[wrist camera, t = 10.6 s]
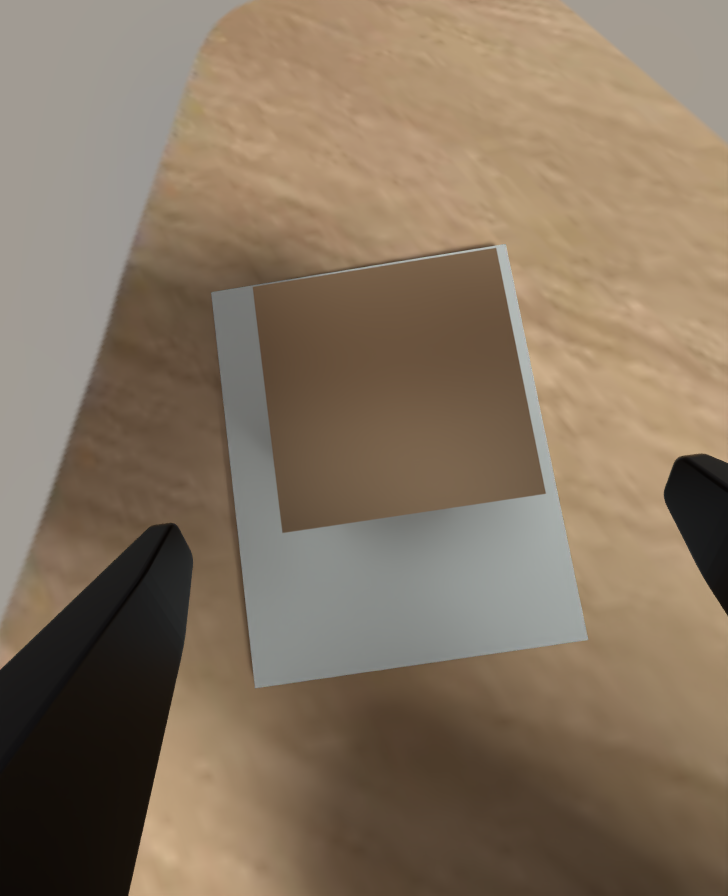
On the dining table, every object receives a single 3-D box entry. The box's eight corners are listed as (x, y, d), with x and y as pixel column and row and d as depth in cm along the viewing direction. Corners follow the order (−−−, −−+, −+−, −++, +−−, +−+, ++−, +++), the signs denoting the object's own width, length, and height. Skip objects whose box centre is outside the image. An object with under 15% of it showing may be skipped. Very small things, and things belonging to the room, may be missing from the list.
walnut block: (454, 503, 16) (546, 493, 7) (339, 520, 16) (282, 532, 7) (435, 390, 16) (496, 247, 8) (323, 407, 16) (252, 286, 8)
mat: (581, 635, 16) (588, 640, 15) (259, 683, 16) (255, 688, 15) (502, 251, 18) (505, 243, 17) (215, 298, 18) (211, 292, 17)
